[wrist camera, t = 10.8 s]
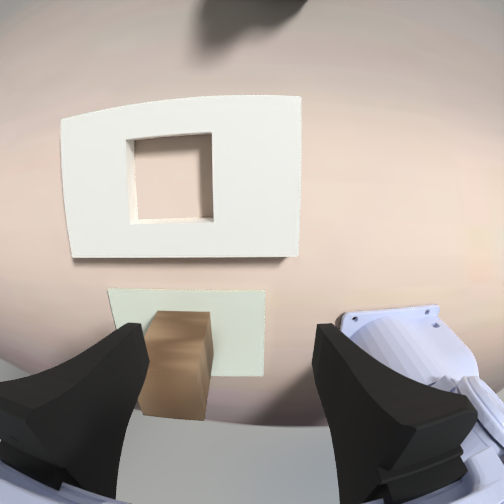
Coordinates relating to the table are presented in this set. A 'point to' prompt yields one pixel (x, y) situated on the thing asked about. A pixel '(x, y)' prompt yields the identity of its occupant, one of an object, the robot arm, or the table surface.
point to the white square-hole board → (223, 171)
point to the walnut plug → (178, 365)
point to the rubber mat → (222, 321)
